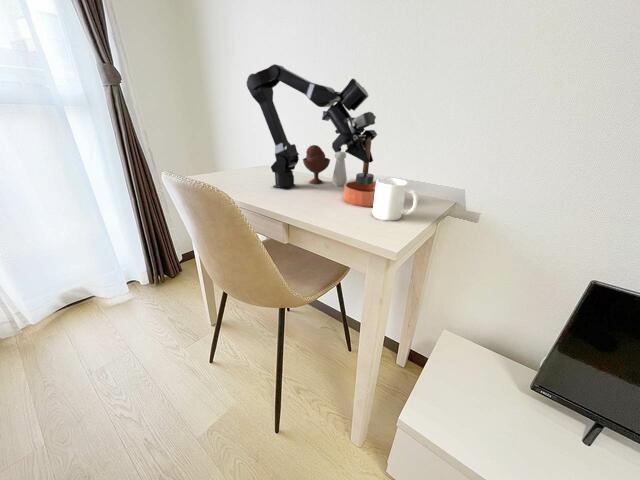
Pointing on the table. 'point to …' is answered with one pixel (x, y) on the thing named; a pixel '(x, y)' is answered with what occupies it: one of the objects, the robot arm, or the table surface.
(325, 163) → the ice cream bowl
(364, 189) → the bowl
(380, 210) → the cup
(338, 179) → the salt shaker
